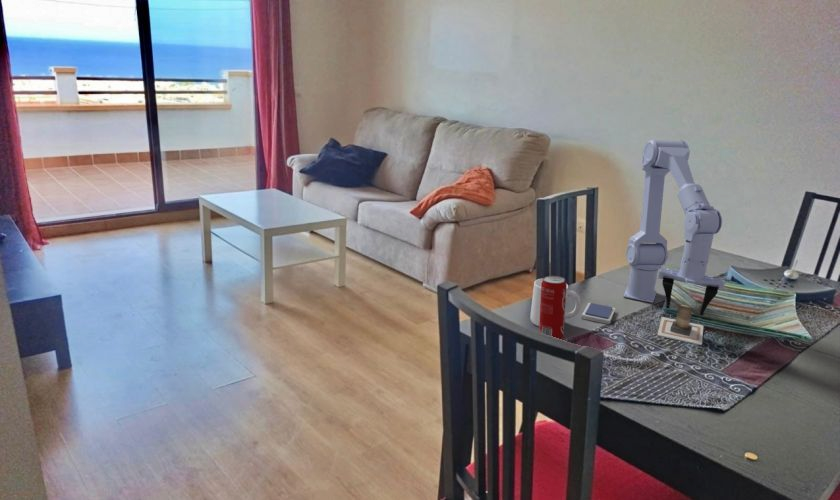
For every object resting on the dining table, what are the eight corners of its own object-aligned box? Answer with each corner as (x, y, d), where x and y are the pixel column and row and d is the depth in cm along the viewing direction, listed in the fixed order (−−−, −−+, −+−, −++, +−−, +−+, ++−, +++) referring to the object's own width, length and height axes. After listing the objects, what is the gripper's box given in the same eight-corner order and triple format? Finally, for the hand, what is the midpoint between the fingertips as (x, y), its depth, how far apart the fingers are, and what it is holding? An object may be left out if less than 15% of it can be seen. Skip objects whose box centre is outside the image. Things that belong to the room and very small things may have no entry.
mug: (576, 318, 156) (581, 280, 152) (580, 332, 148) (586, 293, 145) (528, 314, 157) (533, 276, 153) (531, 327, 149) (535, 289, 146)
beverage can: (563, 345, 141) (571, 285, 136) (534, 341, 142) (541, 281, 137) (562, 334, 146) (570, 276, 142) (535, 330, 147) (542, 273, 143)
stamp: (673, 325, 154) (677, 302, 152) (691, 329, 151) (696, 306, 150) (670, 331, 150) (674, 308, 148) (689, 336, 148) (693, 312, 146)
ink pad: (588, 306, 163) (588, 301, 163) (614, 311, 161) (615, 306, 160) (581, 318, 156) (582, 313, 155) (609, 324, 153) (610, 319, 152)
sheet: (661, 317, 158) (661, 316, 158) (703, 326, 154) (703, 325, 154) (657, 335, 148) (657, 334, 148) (701, 345, 144) (702, 343, 144)
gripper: (661, 257, 144) (651, 309, 149) (728, 269, 139) (716, 323, 143) (664, 249, 151) (654, 299, 155) (728, 260, 145) (716, 312, 149)
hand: (684, 310), depth 149 cm, fingers open, 7 cm apart
